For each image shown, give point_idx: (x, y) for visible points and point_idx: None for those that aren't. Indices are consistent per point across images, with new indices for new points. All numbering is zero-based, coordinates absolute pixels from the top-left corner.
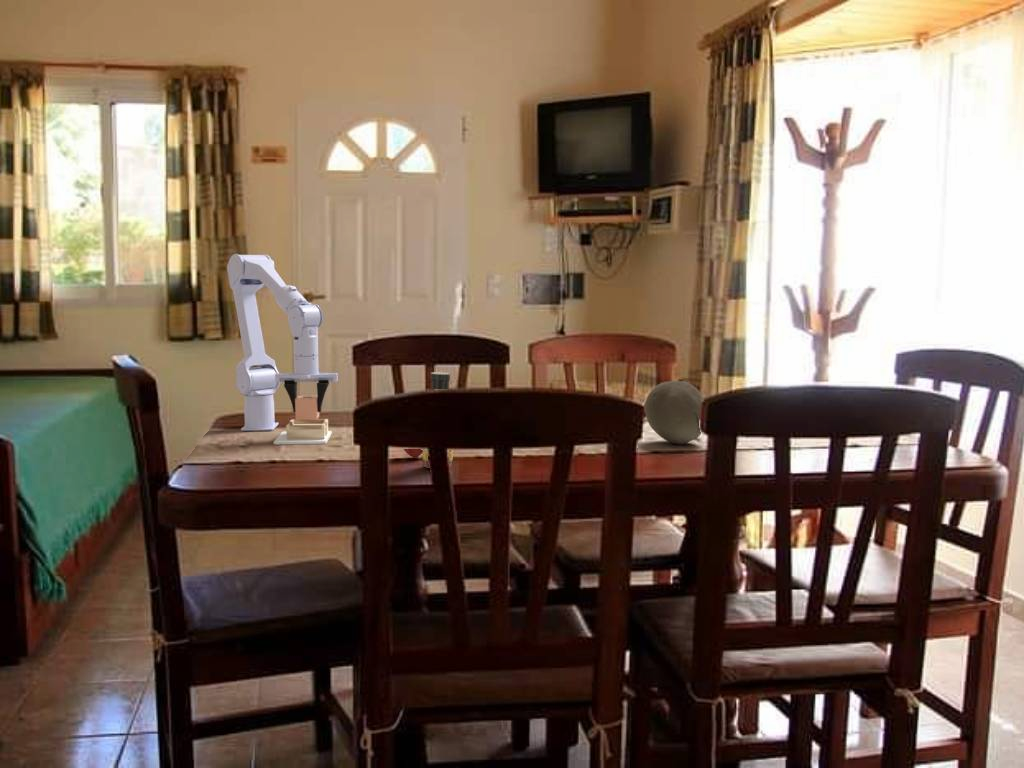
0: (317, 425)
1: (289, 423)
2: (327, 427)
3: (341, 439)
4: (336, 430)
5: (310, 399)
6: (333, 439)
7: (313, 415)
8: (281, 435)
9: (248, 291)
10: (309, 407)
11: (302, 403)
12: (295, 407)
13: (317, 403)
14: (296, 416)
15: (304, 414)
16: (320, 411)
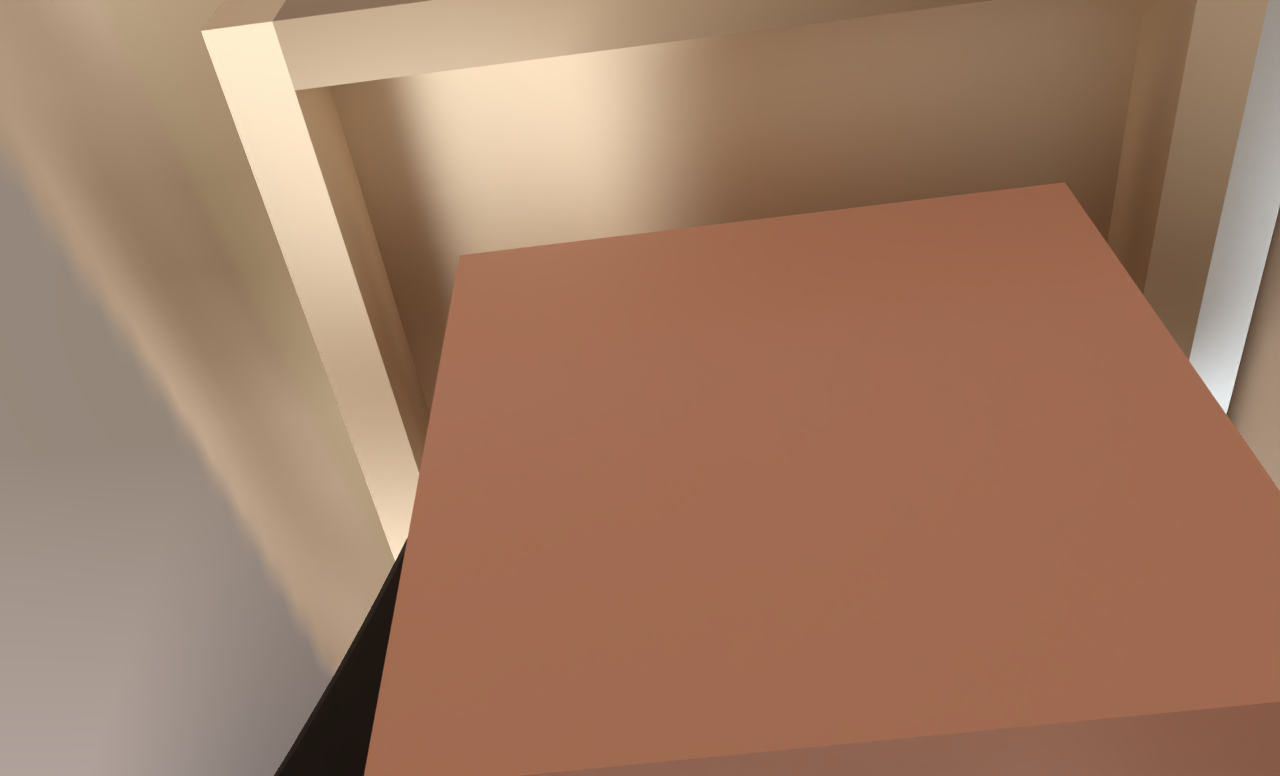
0: (390, 6)
1: (1187, 212)
2: None
3: (91, 181)
4: None
5: (646, 730)
6: (239, 171)
7: (550, 314)
8: (1227, 251)
9: None
10: (679, 462)
11: (983, 554)
12: (1214, 415)
13: None
14: (1068, 230)
15: (829, 292)
16: (403, 551)
